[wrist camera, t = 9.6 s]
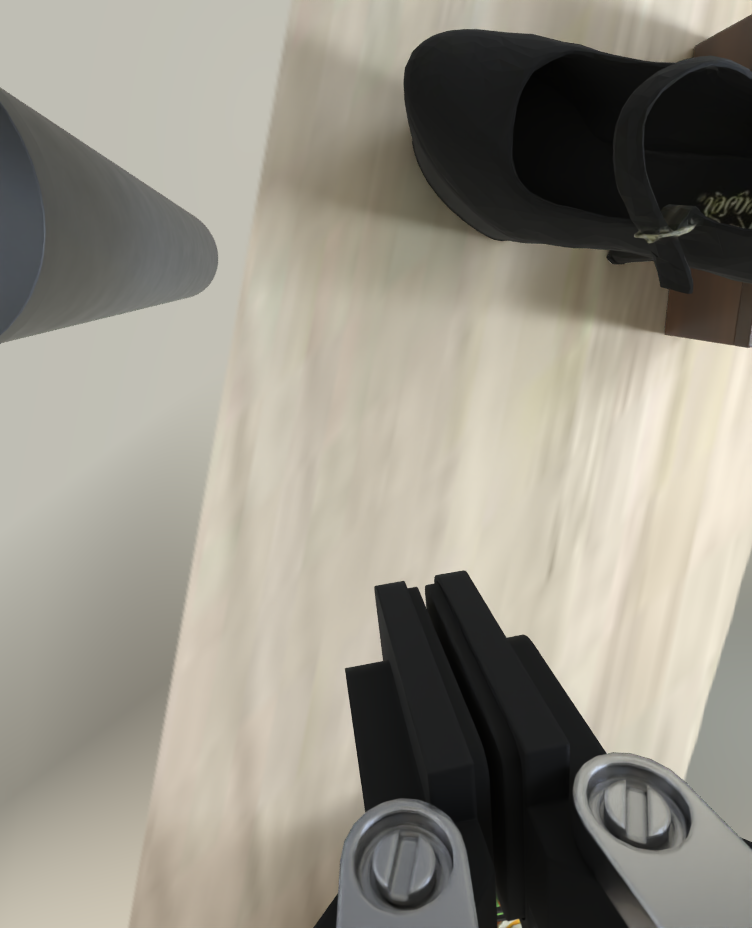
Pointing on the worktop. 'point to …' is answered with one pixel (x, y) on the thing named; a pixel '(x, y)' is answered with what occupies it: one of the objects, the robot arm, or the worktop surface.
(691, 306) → the shoe rack rail
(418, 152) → the high-heeled shoe
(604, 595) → the worktop surface
